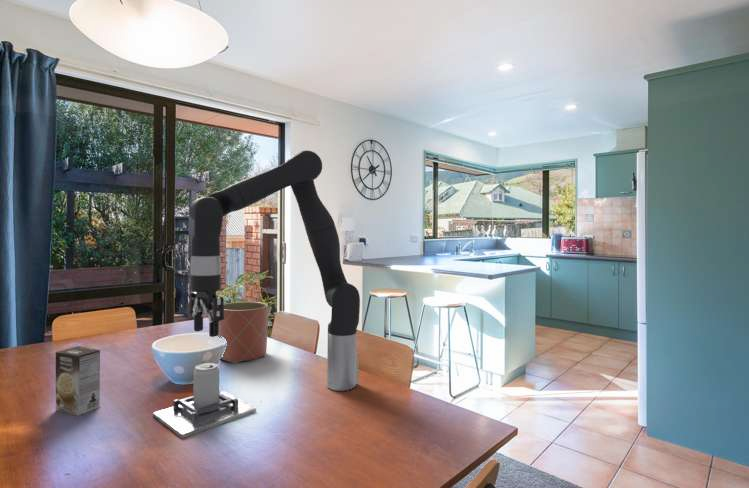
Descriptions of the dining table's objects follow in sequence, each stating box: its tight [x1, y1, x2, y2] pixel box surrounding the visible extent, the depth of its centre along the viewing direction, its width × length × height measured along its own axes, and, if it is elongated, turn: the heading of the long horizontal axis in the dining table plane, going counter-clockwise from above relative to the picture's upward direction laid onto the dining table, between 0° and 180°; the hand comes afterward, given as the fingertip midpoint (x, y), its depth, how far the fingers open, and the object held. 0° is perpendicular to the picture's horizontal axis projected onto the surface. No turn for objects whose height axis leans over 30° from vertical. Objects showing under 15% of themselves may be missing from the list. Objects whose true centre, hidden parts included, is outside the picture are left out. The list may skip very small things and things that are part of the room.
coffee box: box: [55, 345, 101, 417], centre depth 112 cm, size 9×6×16 cm
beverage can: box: [193, 362, 220, 414], centre depth 110 cm, size 6×6×12 cm
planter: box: [217, 301, 269, 364], centre depth 161 cm, size 19×19×20 cm
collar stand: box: [153, 390, 257, 439], centre depth 110 cm, size 20×17×4 cm
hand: (206, 333), depth 110 cm, fingers open, 8 cm apart
